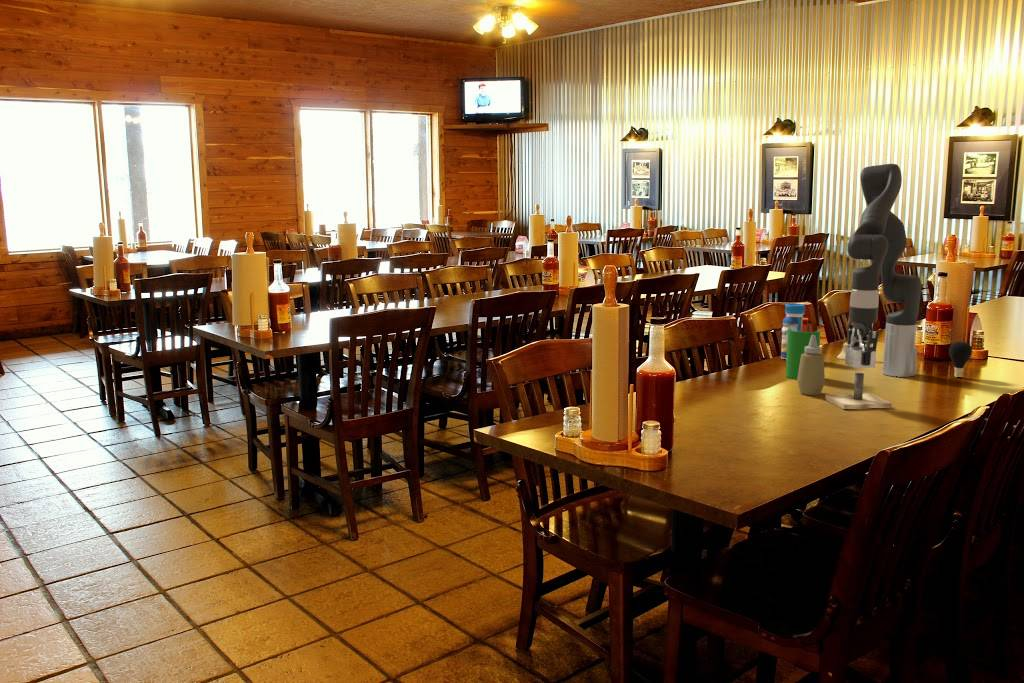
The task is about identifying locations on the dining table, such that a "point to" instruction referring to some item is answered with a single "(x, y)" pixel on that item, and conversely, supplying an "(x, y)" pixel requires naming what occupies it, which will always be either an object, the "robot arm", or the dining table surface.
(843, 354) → the hand bell
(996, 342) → the dining table surface
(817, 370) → the squeeze bottle
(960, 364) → the light bulb
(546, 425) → the dining table surface
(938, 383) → the dining table surface
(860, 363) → the collar
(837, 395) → the stand
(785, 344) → the beverage bottle
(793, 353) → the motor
